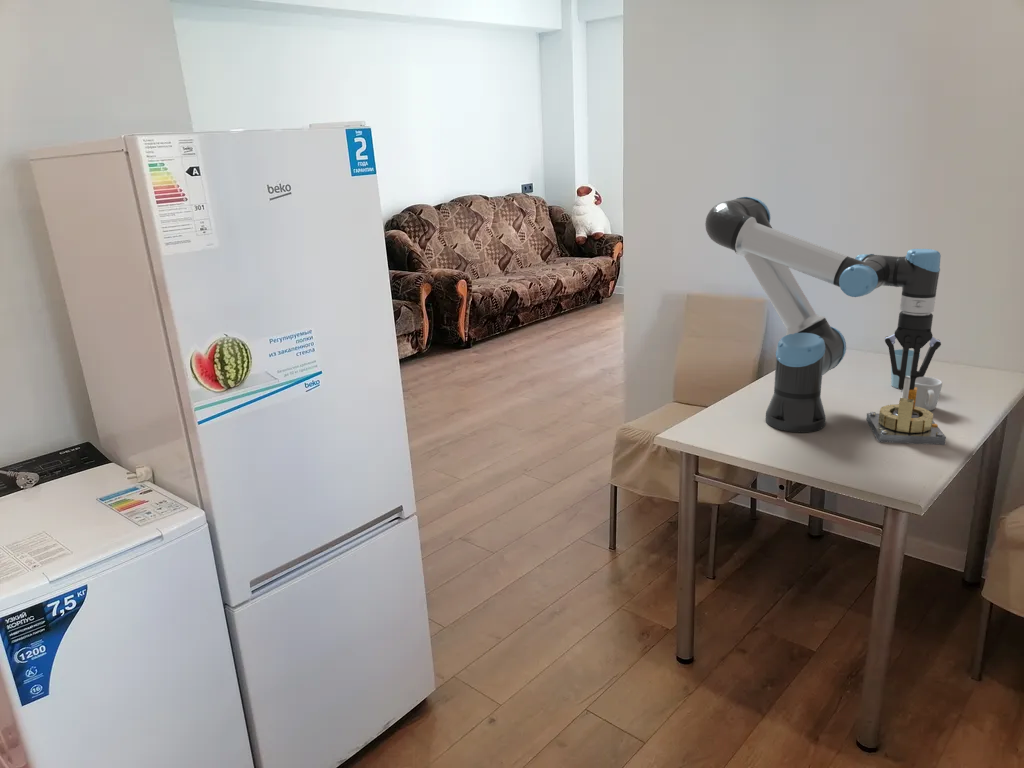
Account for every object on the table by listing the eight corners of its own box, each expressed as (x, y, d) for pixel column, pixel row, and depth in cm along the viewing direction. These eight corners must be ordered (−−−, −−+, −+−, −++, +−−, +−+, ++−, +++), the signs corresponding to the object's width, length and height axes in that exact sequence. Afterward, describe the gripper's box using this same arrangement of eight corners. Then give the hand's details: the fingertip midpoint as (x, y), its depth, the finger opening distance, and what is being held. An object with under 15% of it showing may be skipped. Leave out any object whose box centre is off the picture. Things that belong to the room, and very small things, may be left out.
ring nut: (876, 428, 192) (879, 398, 189) (882, 412, 202) (885, 383, 199) (929, 435, 186) (933, 405, 183) (933, 419, 196) (937, 389, 193)
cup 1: (889, 389, 225) (893, 356, 221) (885, 381, 231) (889, 348, 228) (918, 391, 222) (922, 357, 219) (913, 382, 229) (917, 349, 226)
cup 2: (946, 417, 202) (950, 389, 200) (913, 416, 204) (917, 388, 202) (933, 403, 212) (937, 376, 210) (902, 402, 214) (905, 375, 212)
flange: (878, 442, 189) (881, 422, 188) (866, 420, 203) (868, 401, 202) (944, 444, 186) (947, 425, 184) (927, 422, 200) (930, 403, 198)
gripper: (888, 313, 188) (877, 403, 196) (947, 317, 183) (933, 408, 191) (887, 307, 195) (876, 394, 202) (944, 310, 190) (931, 399, 197)
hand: (904, 401), depth 197 cm, fingers closed
